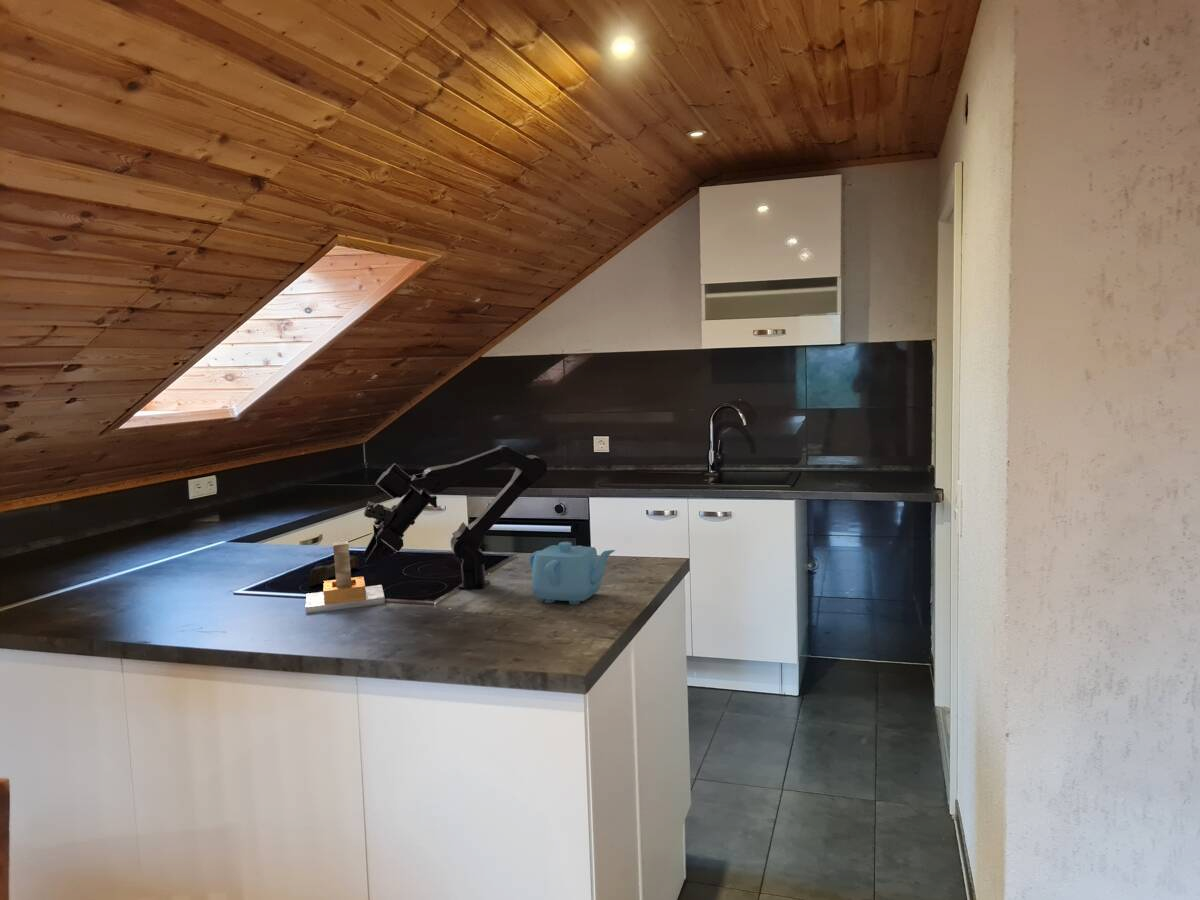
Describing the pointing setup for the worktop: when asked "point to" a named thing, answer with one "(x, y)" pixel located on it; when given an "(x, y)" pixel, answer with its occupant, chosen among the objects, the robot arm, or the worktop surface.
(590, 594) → the teapot
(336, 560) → the tan block
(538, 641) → the worktop surface
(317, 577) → the hand tool
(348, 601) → the bracket plate
